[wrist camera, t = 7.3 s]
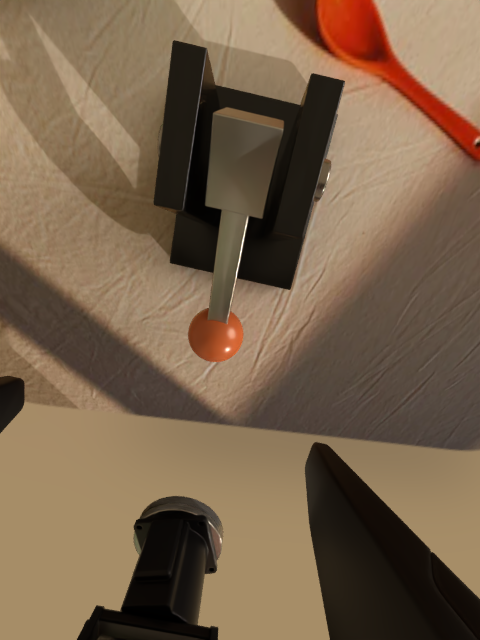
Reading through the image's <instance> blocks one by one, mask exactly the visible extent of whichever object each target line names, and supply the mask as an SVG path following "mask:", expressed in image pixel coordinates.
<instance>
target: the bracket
mask: <svg viewBox="0 0 480 640" xmlns="http://www.w3.org/2000/svg"><path fill="white" fill-rule="evenodd" d="M344 85H345V81H343V80H339V79H334V78H330V77H326V76H322V75H318V74H314V73H313V74H311V76H310V79H309V82H308V84H307V87H306V90H305V93H304V96H303V99H302V102H301V104H300V105H297V104H293V103H289V102H285V101H280V100H276V99H272V98H268V97H264V96H259V95H255V94H251V93H247V92H242V91H238V90H234V89H230V88H226V87H221V86H217V85H215V82H214V77H213V73H212V68H211V64H210V60H209V55H208V51H207V49H206V48H204V47H200V46H196V45H192V44H187V43H183V42H179V41H175V40H174V41H173V45H172V53H171V61H170V70H169V78H168V86H167V95H166V103H165V111H164V120H163V124H162V125H161V128H160V131H159V136H158V156H159V162H158V170H157V178H156V187H155V195H154V205H155V206H158V207H160V208H163V209H165V210H168V211H171V212H173V213H176V214H177V215H176V222H175V229H174V236H173V243H172V250H171V257H170V263H172V264H176V265H181V266H185V267H189V268H194V269H198V270H203V271H207V272H212V273H214V265H215V257H216V250H217V242H218V234H219V226H220V219H221V211H222V209H217V208H213V207H208V206H205V195H206V184H207V172H208V161H209V149H210V138H211V126H212V115H213V112H216V111H218V110H221V109H224V108H226V107H228V108H232V109H237V110H241V111H245V112H249V113H254V114H258V115H262V116H266V117H271V118H275V119H279V120H283V121H284V131H283V135H282V140H281V144H280V148H279V152H278V157H277V161H276V165H275V169H274V174H273V178H272V182H271V186H270V191H269V195H268V199H267V203H266V208H265V212H264V216H263V218H262V219H261V218H257V217H252V216H249V221H248V226H247V231H246V236H245V241H244V246H243V251H242V256H241V261H240V266H239V271H238V276H237V278H239V279H243V280H248V281H252V282H257V283H261V284H266V285H270V286H275V287H279V288H283V289H288V290H290V289H291V286H292V282H293V278H294V275H295V271H296V267H297V264H298V260H299V256H300V253H301V249H302V245H303V242H304V238H305V234H306V230H307V227H308V223H309V219H310V216H311V212H312V208H313V205H314V201H315V202H317V201H319V200H320V198H321V197H322V195H323V192H324V190H325V187H326V185H327V182H328V178H329V174H330V170H331V161H330V160H328V159H326V157H327V153H328V149H329V146H330V142H331V138H332V135H333V131H334V127H335V123H336V120H337V116H338V114H337V111H338V107H339V103H340V99H341V96H342V92H343V88H344Z"/></svg>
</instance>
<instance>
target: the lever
mask: <svg viewBox="0 0 480 640" xmlns="http://www.w3.org/2000/svg"><path fill="white" fill-rule="evenodd" d="M283 131H284V121H283V120H279V119H275V118H271V117H266V116H262V115H258V114H254V113H249V112H245V111H241V110H237V109H232V108H228V107H226V108H224V109H221V110H218V111H216V112H213V115H212V126H211V138H210V149H209V161H208V172H207V184H206V195H205V206H208V207H213V208H217V209H222V211H221V219H220V226H219V234H218V242H217V250H216V257H215V265H214V273H213V280H212V288H211V296H210V303H209V308H207V309H204V310H202V311H201V312H199V313H198V314H197V315H196V316H195V317H194V318H193V320H192V321H191V323H190V326H189V330H188V339H189V343H190V346H191V348H192V350H193V351H194V352H195V353H196V354H197V355H198V356H199V357H200V358H202V359H204V360H206V361H210V362H221V361H225V360H227V359H229V358H231V357H232V356H233V355H235V354H236V353H237V351H238V350H239V348H240V347H241V344H242V341H243V328H242V325H241V322H240V320H239V319H238V317H237V316H236V315H235V314H234V313H232V312H231V306H232V301H233V296H234V291H235V286H236V281H237V276H238V271H239V266H240V261H241V256H242V251H243V246H244V241H245V236H246V231H247V226H248V221H249V216H252V217H257V218H261V219H262V218H263V216H264V212H265V208H266V203H267V199H268V195H269V191H270V186H271V182H272V178H273V174H274V169H275V165H276V161H277V157H278V152H279V148H280V144H281V140H282V135H283Z"/></svg>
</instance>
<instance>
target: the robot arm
mask: <svg viewBox="0 0 480 640" xmlns="http://www.w3.org/2000/svg"><path fill="white" fill-rule="evenodd" d="M23 405H24V381H23V380H22V379H21V378H16V377H12V376H4V377H0V433H1V432H2V431H3V430H4V428H5V427H6V426H7V425H8V424H9V423H10V422H11V421H12V420H13V418H15V416H16V415H17V414H18V413H19V412H20V411H21V409H22V408H23ZM305 477H306V489H307V502H308V514H309V524H310V531H311V537H312V542H313V548H314V554H315V559H316V565H317V570H318V576H319V581H320V587H321V592H322V597H323V603H324V609H325V614H326V620H327V625H328V631H329V636H330V640H480V599H479V598H478V597H477V596H476V595H475V594H474V593H473V592H472V591H471V590H470V589H469V588H468V587H467V586H466V585H465V584H464V583H463V582H462V581H461V580H460V579H459V578H458V577H457V576H456V575H455V574H454V573H453V572H452V571H451V570H450V569H449V568H448V567H447V566H446V565H445V564H444V563H443V562H442V561H441V560H440V559H439V558H438V557H437V556H436V555H435V554H434V553H433V552H431V551H430V549H429V548H428V547H427V546H426V545H425V544H424V543H423V542H422V541H421V540H420V539H419V537H418V536H417V535H416V534H415V533H414V532H413V531H412V530H411V529H409V527H408V526H407V525H406V524H405V523H404V522H403V521H402V520H401V519H400V518H399V517H398V516H397V515H396V514H395V513H394V512H393V511H392V510H391V509H390V508H389V507H388V506H387V505H386V504H385V503H384V502H383V501H382V500H381V499H380V498H379V497H378V496H377V495H376V494H375V493H374V492H373V491H372V489H370V487H369V486H368V485H367V484H366V483H365V482H364V481H362V479H361V478H360V477H359V476H358V475H357V474H356V473H355V472H354V471H353V470H352V469H351V468H350V467H349V466H348V465H347V464H346V463H345V462H344V461H343V460H342V459H341V458H340V457H339V456H338V455H337V454H336V453H335V452H334V451H333V450H332V449H331V448H330V447H329V446H328V445H326V444H322V443H317V442H315V443H314V444H313V445H312V448H311V450H310V453H309V456H308V459H307V462H306V465H305ZM134 530H135V533H136V537H137V540H138V543H139V546H140V549H141V553H140V556H139V559H138V561H137V564H136V567H135V570H134V572H133V576H132V579H131V582H130V584H129V587H128V590H127V593H126V596H125V598H124V601H123V604H122V607H121V610H120V611H115V610H109V609H104V606H98V605H97V606H96V607H95V609H94V611H93V613H92V615H91V617H90V619H89V620H87V621H86V622H85V624H84V627H83V629H82V631H81V633H80V635H79V637H78V638H77V640H218V627H214V626H211V627H210V628H209V627H204V626H198V625H197V624H198V617H199V610H200V603H201V596H202V589H203V582H204V575H205V574H210V573H215V572H216V571H217V561H216V556H215V552H214V547H213V542H212V538H211V533H210V529H209V524H208V519H207V517H206V516H204V515H190V516H175V517H160V518H145V519H138V520H136V522H135V525H134Z"/></svg>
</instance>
